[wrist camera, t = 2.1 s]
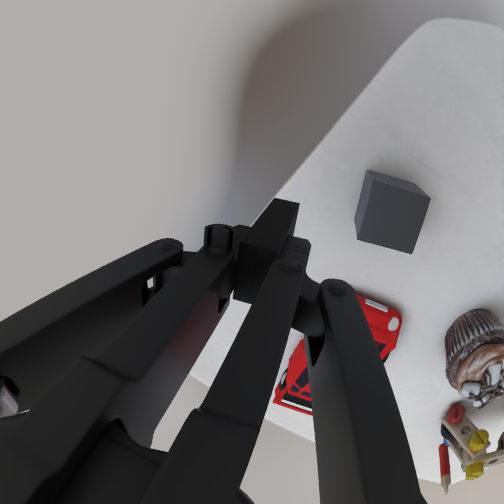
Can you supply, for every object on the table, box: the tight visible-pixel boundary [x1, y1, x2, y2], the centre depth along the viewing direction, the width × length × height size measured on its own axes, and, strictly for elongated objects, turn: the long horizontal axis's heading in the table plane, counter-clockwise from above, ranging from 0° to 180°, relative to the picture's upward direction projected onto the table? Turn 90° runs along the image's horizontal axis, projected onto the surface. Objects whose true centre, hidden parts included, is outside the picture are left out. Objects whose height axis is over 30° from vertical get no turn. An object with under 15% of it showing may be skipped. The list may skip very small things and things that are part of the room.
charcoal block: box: [354, 170, 431, 254], centre depth 23 cm, size 5×5×5 cm
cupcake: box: [445, 309, 504, 409], centre depth 23 cm, size 10×10×10 cm
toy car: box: [273, 294, 402, 416], centre depth 32 cm, size 10×20×5 cm, turn 166°
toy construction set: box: [439, 393, 504, 495], centre depth 23 cm, size 27×22×21 cm
